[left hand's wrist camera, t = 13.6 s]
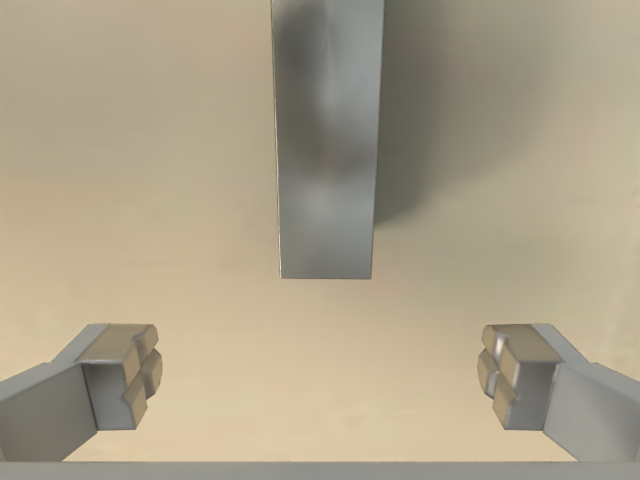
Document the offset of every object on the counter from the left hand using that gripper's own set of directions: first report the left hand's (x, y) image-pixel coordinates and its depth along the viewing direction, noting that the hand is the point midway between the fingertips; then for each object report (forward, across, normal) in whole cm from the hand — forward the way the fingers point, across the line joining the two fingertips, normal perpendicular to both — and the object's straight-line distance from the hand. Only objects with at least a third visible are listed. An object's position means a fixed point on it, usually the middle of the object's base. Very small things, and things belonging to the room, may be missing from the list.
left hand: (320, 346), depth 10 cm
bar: (+22, 0, -9) cm, 23 cm away
